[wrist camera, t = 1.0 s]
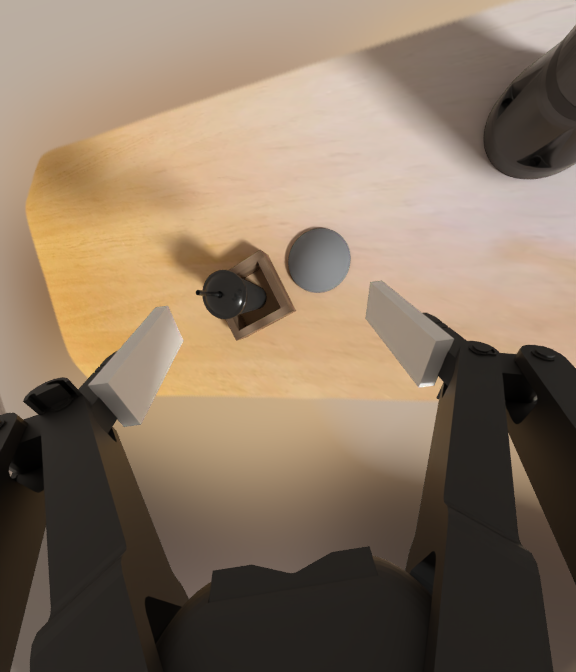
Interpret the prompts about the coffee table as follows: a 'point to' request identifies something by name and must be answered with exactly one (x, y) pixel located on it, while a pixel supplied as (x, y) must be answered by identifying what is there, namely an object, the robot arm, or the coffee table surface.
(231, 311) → the drinking cup
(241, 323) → the wooden square tray
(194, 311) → the coffee table surface
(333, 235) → the coaster
